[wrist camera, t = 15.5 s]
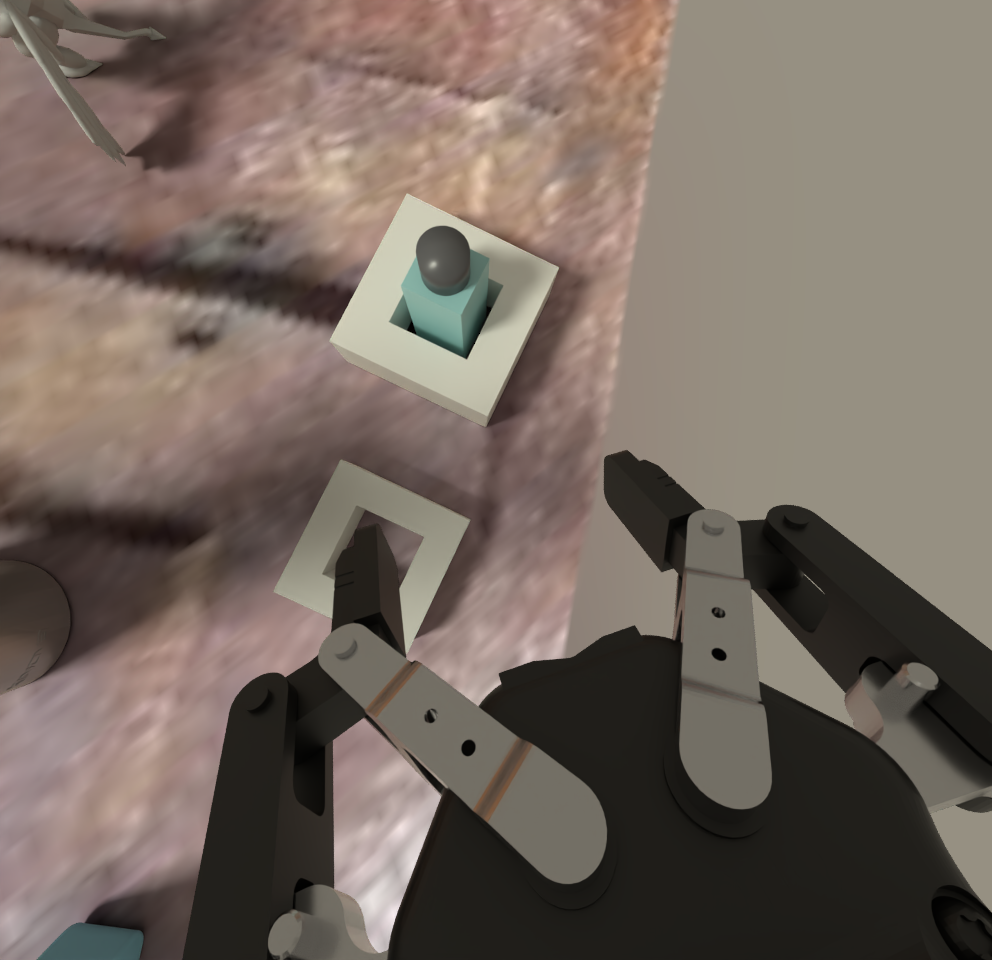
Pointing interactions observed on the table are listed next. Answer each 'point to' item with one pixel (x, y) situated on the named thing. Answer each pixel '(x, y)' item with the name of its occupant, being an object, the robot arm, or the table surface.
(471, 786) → the robot arm
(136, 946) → the data package
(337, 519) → the holster
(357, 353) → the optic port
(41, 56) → the fairy figurine
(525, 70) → the table surface
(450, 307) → the plug
